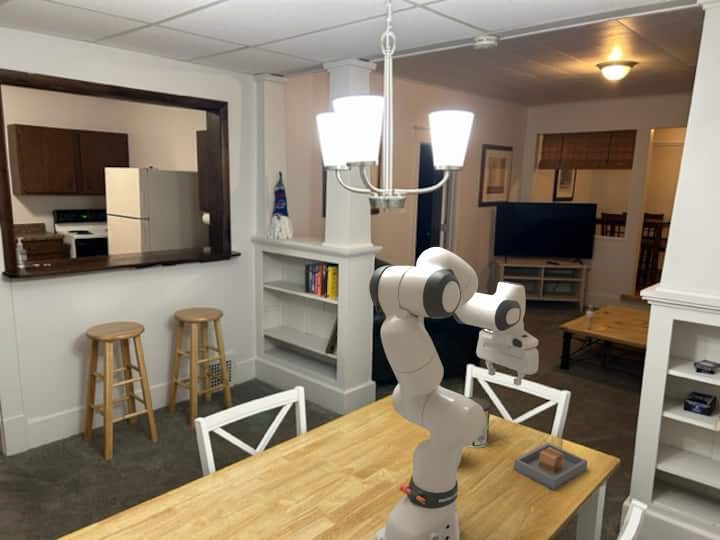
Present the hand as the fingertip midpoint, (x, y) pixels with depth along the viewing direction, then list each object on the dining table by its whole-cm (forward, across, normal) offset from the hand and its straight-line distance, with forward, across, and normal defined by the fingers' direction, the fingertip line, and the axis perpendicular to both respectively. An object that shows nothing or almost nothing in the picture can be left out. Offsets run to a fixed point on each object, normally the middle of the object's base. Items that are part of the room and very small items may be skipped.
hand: (504, 379), depth 156 cm
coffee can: (+31, -18, +10) cm, 37 cm away
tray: (+30, +8, +15) cm, 35 cm away
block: (+29, +8, +15) cm, 34 cm away
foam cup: (+31, -13, -7) cm, 34 cm away
